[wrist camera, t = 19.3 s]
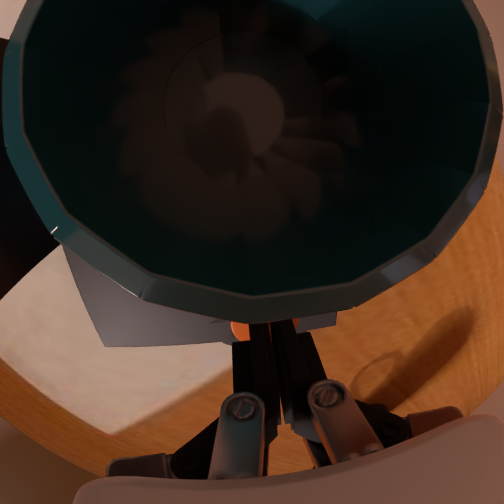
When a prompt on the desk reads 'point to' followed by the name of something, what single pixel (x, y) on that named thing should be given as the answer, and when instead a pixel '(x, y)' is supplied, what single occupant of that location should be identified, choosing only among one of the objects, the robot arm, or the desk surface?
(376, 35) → the cup
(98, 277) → the dark grey flat block
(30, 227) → the brewer column
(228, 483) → the robot arm
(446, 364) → the desk surface
